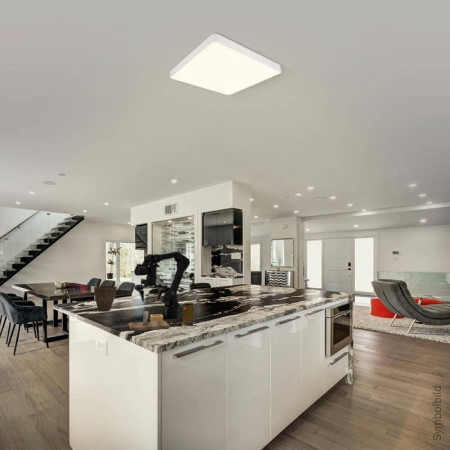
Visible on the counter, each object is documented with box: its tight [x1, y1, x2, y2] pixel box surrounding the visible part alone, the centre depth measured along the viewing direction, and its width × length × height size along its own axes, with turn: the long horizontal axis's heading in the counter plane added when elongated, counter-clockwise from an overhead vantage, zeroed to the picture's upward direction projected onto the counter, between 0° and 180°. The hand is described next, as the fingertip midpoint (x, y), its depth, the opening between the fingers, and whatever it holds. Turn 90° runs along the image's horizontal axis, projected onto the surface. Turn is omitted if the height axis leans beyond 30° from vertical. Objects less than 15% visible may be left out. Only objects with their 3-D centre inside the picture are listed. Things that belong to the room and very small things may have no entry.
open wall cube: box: [149, 313, 164, 322], centre depth 175 cm, size 7×7×4 cm
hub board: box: [128, 310, 170, 332], centre depth 162 cm, size 20×12×8 cm, turn 111°
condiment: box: [181, 302, 195, 327], centre depth 171 cm, size 7×8×12 cm
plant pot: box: [93, 285, 118, 312], centre depth 206 cm, size 15×15×16 cm
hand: (150, 301), depth 177 cm, fingers open, 9 cm apart
